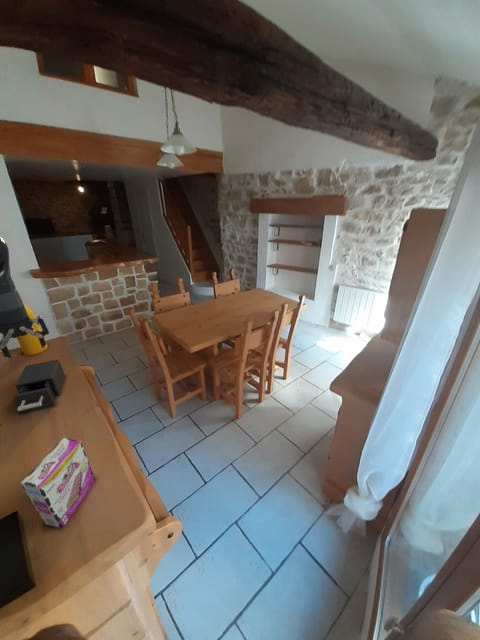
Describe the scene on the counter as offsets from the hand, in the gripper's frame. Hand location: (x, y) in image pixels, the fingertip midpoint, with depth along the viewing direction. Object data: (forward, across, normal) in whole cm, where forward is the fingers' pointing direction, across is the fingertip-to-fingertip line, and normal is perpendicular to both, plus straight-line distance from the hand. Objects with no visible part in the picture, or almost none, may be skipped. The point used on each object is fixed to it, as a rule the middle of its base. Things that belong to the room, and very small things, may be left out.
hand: (27, 351), depth 81 cm
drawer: (+21, +2, 0) cm, 21 cm away
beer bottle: (+22, -1, -42) cm, 48 cm away
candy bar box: (+22, +1, +43) cm, 48 cm away
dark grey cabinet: (+22, 0, -7) cm, 23 cm away
